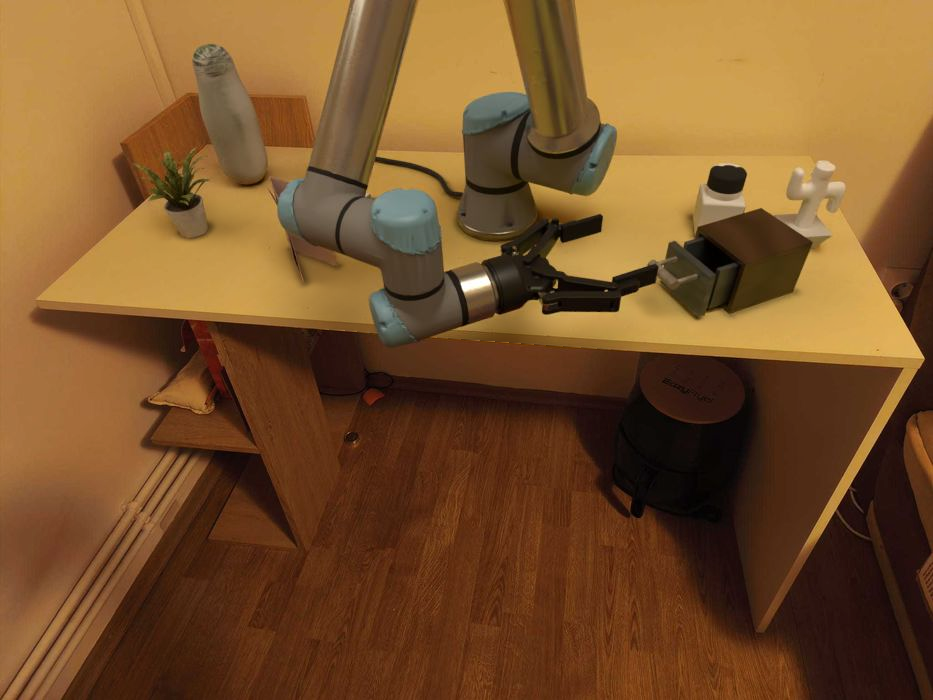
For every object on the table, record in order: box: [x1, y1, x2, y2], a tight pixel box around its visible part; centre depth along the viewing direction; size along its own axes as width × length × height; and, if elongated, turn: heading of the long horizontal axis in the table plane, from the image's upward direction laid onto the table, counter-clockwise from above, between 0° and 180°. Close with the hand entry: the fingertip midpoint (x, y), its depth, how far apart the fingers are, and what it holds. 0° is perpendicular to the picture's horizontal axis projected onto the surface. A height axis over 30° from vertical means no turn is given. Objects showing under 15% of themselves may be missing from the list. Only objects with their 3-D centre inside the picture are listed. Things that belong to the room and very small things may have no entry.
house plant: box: [130, 145, 214, 239], centre depth 115 cm, size 14×14×16 cm
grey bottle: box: [192, 43, 269, 185], centre depth 126 cm, size 10×10×28 cm
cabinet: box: [694, 207, 813, 314], centre depth 98 cm, size 13×11×10 cm
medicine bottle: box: [692, 162, 748, 236], centre depth 109 cm, size 7×7×12 cm
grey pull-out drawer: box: [646, 236, 741, 318], centre depth 96 cm, size 16×10×8 cm, turn 112°
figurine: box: [773, 159, 847, 250], centre depth 104 cm, size 7×9×15 cm
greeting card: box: [267, 176, 338, 283], centre depth 107 cm, size 11×7×15 cm, turn 23°
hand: (626, 246), depth 86 cm, fingers open, 13 cm apart
